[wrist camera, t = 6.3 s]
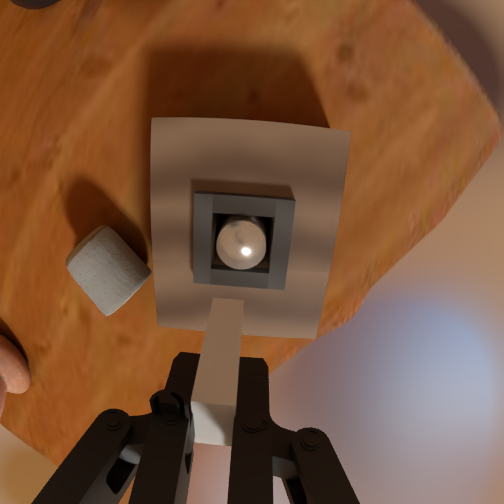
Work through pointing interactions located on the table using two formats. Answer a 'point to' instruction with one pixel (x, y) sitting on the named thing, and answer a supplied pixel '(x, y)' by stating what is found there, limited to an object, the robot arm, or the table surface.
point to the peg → (242, 241)
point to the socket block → (244, 203)
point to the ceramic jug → (12, 370)
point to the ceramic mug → (107, 269)
